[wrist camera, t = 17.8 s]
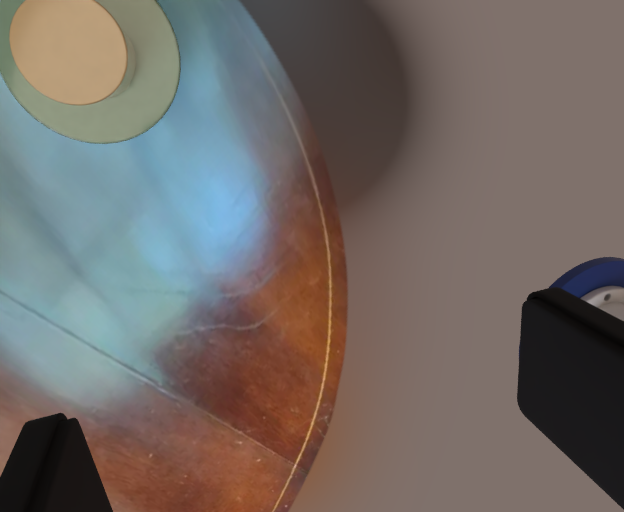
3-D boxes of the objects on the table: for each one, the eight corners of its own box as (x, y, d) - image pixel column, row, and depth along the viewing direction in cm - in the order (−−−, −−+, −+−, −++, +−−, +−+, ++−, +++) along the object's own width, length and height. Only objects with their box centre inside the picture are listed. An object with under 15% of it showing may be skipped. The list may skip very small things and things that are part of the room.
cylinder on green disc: (200, 13, 24) (211, -11, 18) (154, 162, 26) (149, 187, 20) (24, -71, 21) (-35, -135, 15) (-15, 105, 23) (-82, 113, 17)
